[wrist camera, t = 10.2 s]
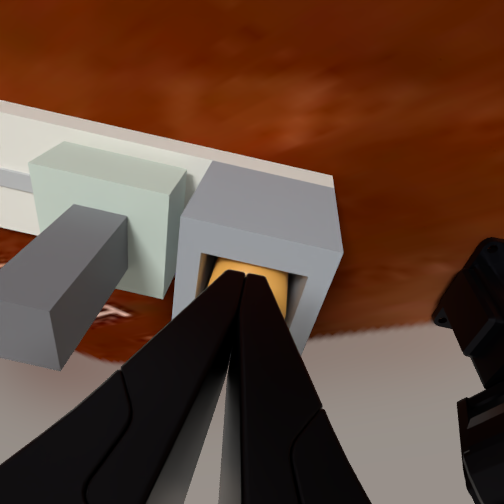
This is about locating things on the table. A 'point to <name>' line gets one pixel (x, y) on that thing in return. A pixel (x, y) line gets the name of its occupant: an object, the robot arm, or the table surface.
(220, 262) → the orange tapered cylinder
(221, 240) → the rail
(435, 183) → the table surface
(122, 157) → the carriage
